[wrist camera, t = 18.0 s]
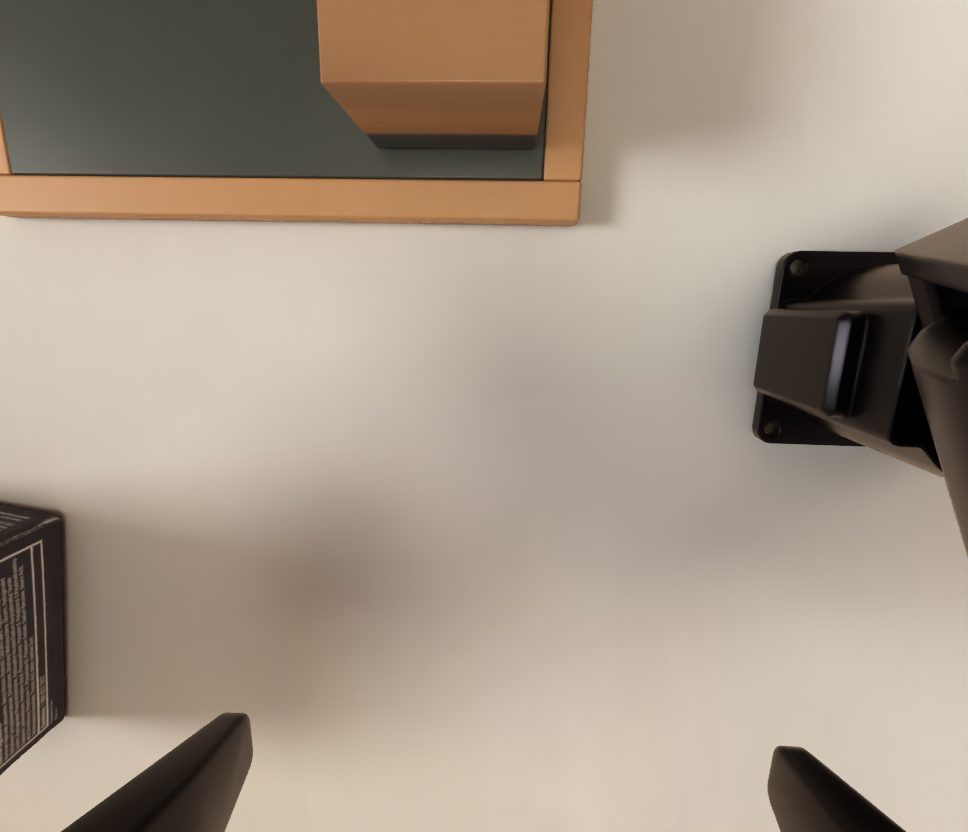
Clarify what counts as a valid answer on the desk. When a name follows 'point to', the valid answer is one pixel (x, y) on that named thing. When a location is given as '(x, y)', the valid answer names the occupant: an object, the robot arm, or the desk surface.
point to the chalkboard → (248, 123)
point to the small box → (29, 630)
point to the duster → (437, 70)
